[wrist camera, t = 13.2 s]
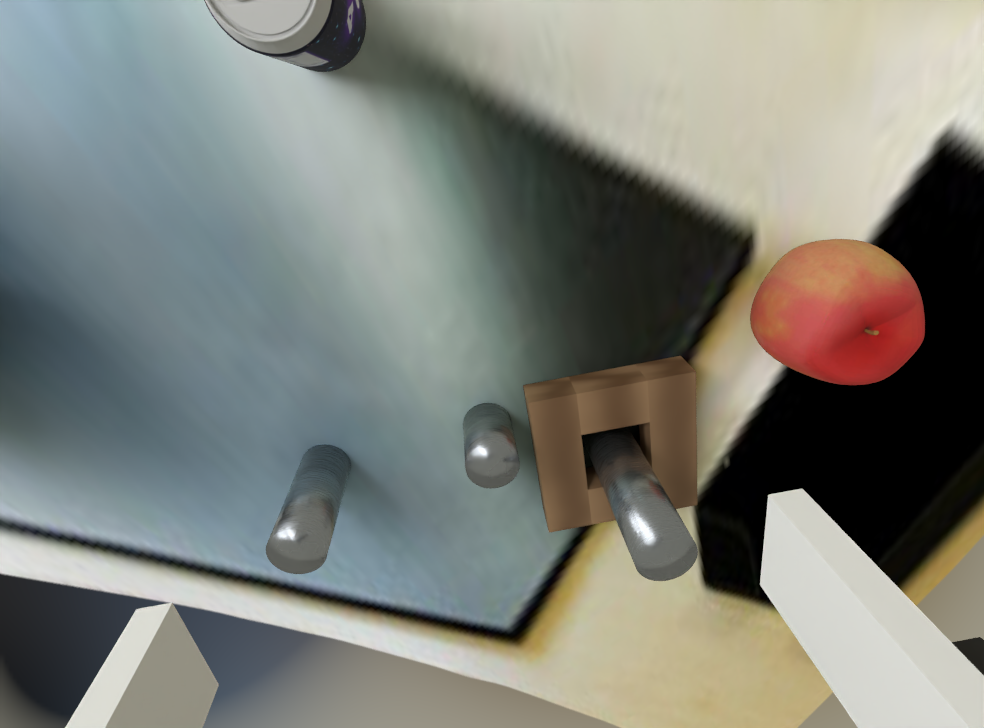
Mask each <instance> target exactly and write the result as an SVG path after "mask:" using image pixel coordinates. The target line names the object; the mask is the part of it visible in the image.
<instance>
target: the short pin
mask: <svg viewBox="0 0 984 728" xmlns="http://www.w3.org/2000/svg"><path fill="white" fill-rule="evenodd" d="M463 431H464V450H465V468H466V473H467V475H468V477H469V479H470V480H471V481H472V482H473V483H475V484H476V485H478V486H481V487H484V488H498V487H502V486H504V485H506V484H508V483H510V482H511V481H512V480H513V479H514V478H515V477H516V475H517V473H518V471H519V466H520V463H519V457H518V452H517V448H516V443H515V438H514V433H513V429H512V424H511V419H510V416H509V414H508V412H507V411H506V410H505V409H504V408H503V407H501V406H499V405H497V404H493V403H483V404H479V405H477V406H475V407H473V408H472V409H470V410H469V411H468V413H467V414H466V416H465V418H464V421H463Z"/></svg>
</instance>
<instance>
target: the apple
mask: <svg viewBox="0 0 984 728" xmlns="http://www.w3.org/2000/svg"><path fill="white" fill-rule="evenodd" d="M750 321H751V328H752V331H753V334H754V336H755V338H756V339H757V341H758V343H759V344H760V345H761V346H762V347H763V349H764V350H765V351H766V352H767V353H768V354H770V355H771V356H772V357H773V358H775V359H776V360H778V361H779V362H781V363H782V364H784V365H786V366H788V367H790V368H792V369H794V370H796V371H798V372H800V373H803V374H805V375H808V376H811V377H813V378H816V379H819V380H823V381H826V382H830V383H835V384H843V385H862V384H870V383H874V382H878V381H881V380H883V379H885V378H887V377H889V376H890V375H892V374H893V373H894V372H896V371H897V370H898V369H899V368H900V367H901V366H903V365H904V364H905V363H906V362H907V361H908V360H909V359H910V357H911V356H912V355H913V354H914V353H915V352H916V350H917V349H918V348H919V346H920V345H921V343H922V341H923V339H924V334H925V317H924V309H923V303H922V298H921V295H920V292H919V289H918V287H917V285H916V283H915V281H914V280H913V278H912V276H911V275H910V274H909V272H908V271H907V270H906V269H905V267H904V266H903V265H902V264H901V263H900V262H898V261H897V260H896V259H895V258H893V257H892V256H891V255H889V254H888V253H886V252H885V251H883V250H882V249H880V248H879V247H876V246H874V245H872V244H869V243H866V242H862V241H857V240H847V239H832V240H821V241H815V242H811V243H807V244H804V245H801V246H799V247H796V248H795V249H793V250H791V251H789V252H788V253H787V254H785V255H784V256H783V257H782V258H781V259H780V260H779V261H778V262H777V263H776V264H775V265H774V267H773V268H772V269H771V270H770V272H769V273H768V275H767V276H766V277H765V279H764V281H763V282H762V284H761V286H760V287H759V289H758V292H757V294H756V296H755V298H754V301H753V304H752V308H751V316H750Z"/></svg>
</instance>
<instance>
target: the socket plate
mask: <svg viewBox="0 0 984 728" xmlns="http://www.w3.org/2000/svg"><path fill="white" fill-rule="evenodd" d="M523 387H524V394H525V400H526V406H527V412H528V418H529V424H530V430H531V436H532V442H533V448H534V454H535V460H536V467H537V473H538V479H539V485H540V491H541V497H542V503H543V509H544V513H545V517H546V521H547V526H548V530H549V532H554V531H560V530H565V529H570V528H576V527H581V526H586V525H592V524H597V523H603V522H608V521H613V520H616V518H615V516H614V514H613V511H612V509H611V506H610V504H609V502H608V499H607V497H606V495H605V492H604V490H603V487H602V485H601V483H600V480H599V478H598V475H597V473H596V471H595V468H594V466H592V467H587V468H585V462H584V453H583V445H582V436H581V435H584V434H590V433H595V432H601V431H606V430H611V429H617V428H622V427H627V426H633V425H638V424H639V433H640V449H641V450H642V452H643V454H644V456H645V457H646V459H647V461H648V462H649V464H650V466H651V468H652V469H653V471H654V473H655V475H656V476H657V478H658V480H659V481H660V483H661V485H662V487H663V488H664V490H665V492H666V494H667V495H668V497H669V499H670V500H671V502H672V504H673V506H674V507H675V509H678V508H683V507H688V506H694V505H697V425H696V371H695V370H694V369H693V368H692V367H691V366H690V365H689V364H688V363H687V362H686V361H685V360H684V359H683V358H682V357H681V356H677V357H671V358H666V359H661V360H655V361H650V362H645V363H639V364H634V365H629V366H623V367H618V368H613V369H607V370H602V371H597V372H591V373H586V374H581V375H575V376H570V377H565V378H559V379H554V380H549V381H543V382H538V383H533V384H527V385H523Z"/></svg>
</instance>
